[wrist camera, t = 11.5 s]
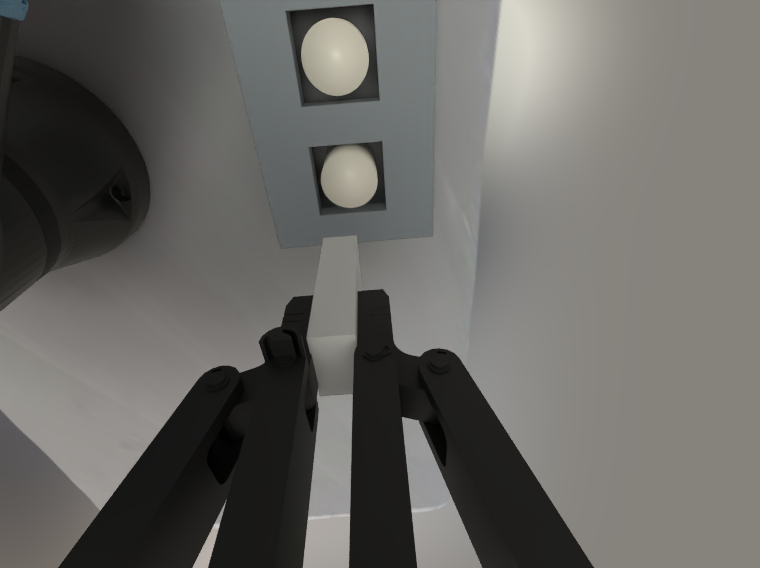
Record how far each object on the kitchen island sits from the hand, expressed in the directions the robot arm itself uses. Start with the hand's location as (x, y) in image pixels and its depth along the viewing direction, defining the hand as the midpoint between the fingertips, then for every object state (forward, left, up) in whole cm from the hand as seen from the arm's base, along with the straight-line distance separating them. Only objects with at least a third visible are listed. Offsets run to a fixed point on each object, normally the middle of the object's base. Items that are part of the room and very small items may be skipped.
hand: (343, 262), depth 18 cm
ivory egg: (0, 0, -16) cm, 16 cm away
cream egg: (+4, +6, -16) cm, 18 cm away
